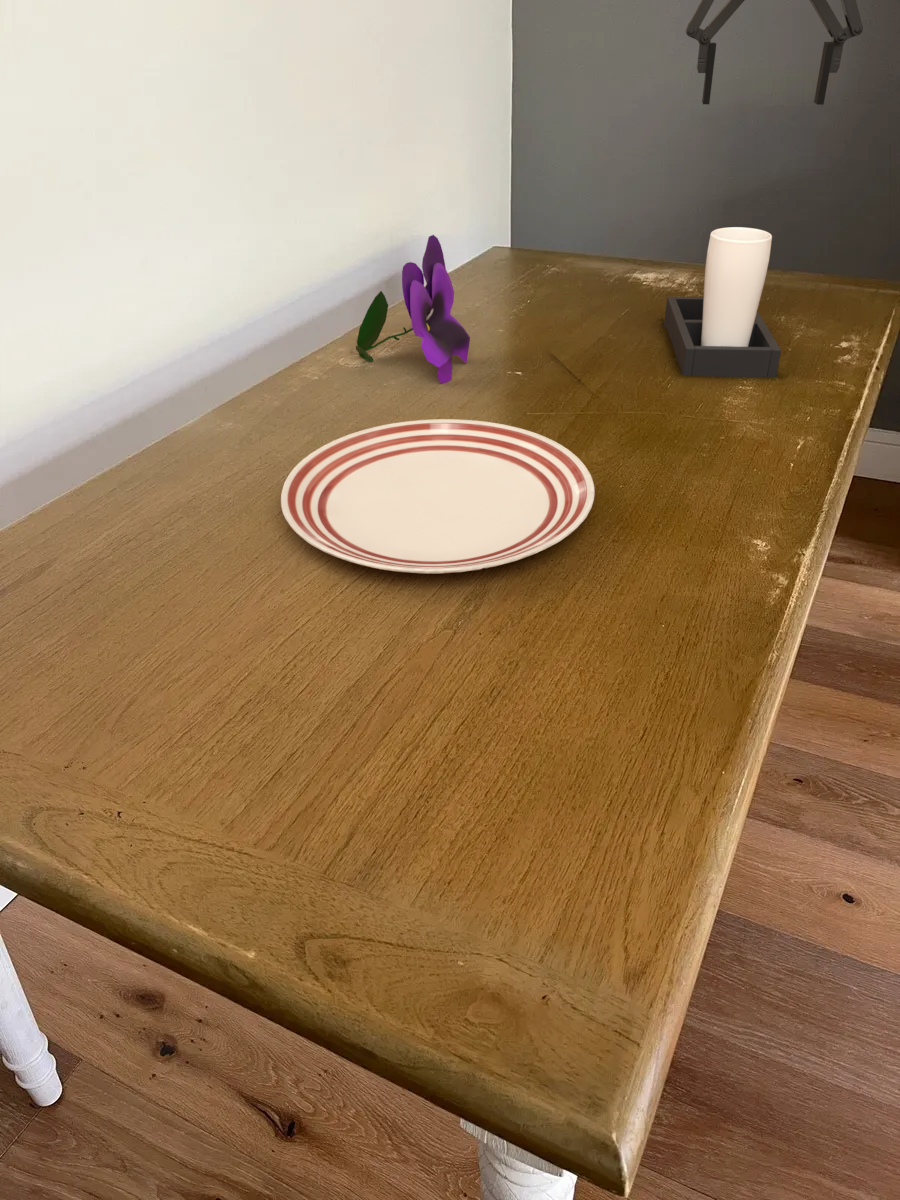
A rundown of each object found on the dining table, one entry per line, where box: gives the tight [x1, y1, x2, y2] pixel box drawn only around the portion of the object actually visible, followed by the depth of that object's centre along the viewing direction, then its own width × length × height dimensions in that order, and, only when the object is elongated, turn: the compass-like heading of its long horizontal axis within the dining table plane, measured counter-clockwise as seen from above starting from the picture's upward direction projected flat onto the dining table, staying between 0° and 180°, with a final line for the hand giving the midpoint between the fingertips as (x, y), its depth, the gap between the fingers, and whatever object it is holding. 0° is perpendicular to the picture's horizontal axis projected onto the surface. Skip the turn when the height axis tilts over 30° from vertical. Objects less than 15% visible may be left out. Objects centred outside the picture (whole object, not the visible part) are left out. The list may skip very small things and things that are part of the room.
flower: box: [355, 234, 471, 384], centre depth 114 cm, size 15×15×14 cm
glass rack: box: [663, 296, 782, 378], centre depth 117 cm, size 10×20×5 cm, turn 175°
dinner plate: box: [280, 418, 596, 574], centre depth 85 cm, size 27×27×3 cm
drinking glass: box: [701, 226, 773, 347], centre depth 110 cm, size 7×7×15 cm
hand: (761, 103), depth 119 cm, fingers open, 13 cm apart
